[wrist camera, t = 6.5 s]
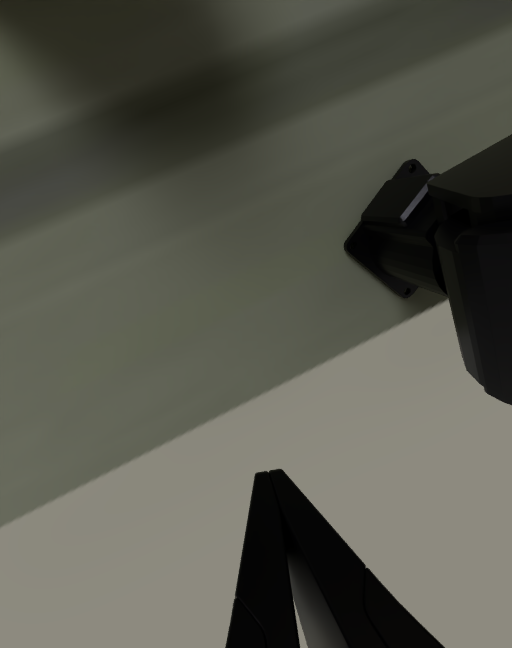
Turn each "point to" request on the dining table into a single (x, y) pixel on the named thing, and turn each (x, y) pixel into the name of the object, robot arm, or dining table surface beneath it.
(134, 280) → the dining table surface
